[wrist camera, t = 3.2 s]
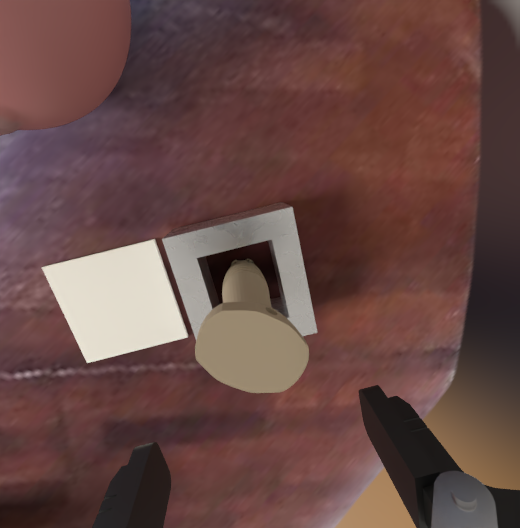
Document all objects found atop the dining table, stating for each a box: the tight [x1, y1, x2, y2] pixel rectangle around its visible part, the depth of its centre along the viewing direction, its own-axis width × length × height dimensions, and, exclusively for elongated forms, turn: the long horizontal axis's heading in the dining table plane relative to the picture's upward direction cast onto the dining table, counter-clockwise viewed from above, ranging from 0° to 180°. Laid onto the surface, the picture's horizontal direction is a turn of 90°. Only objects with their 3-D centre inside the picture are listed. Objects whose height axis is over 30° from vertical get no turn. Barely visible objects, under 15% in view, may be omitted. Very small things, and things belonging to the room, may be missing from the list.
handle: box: [195, 259, 309, 393], centre depth 24 cm, size 5×6×15 cm
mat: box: [42, 239, 188, 363], centre depth 30 cm, size 11×11×1 cm
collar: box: [162, 202, 317, 341], centre depth 29 cm, size 12×11×5 cm
